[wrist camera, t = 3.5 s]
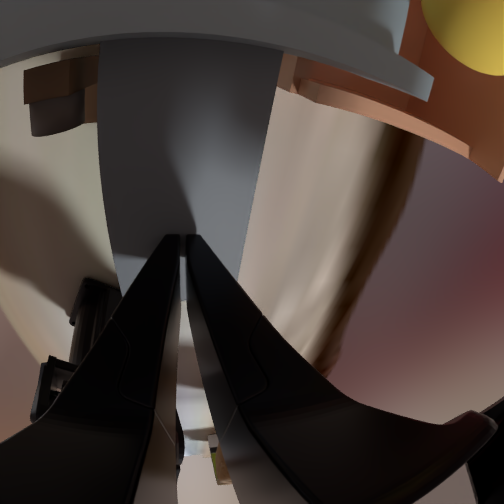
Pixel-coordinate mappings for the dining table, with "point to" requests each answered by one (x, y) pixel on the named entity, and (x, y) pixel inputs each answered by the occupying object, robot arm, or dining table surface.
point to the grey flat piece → (198, 100)
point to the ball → (469, 31)
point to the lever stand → (61, 95)
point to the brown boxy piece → (410, 107)
